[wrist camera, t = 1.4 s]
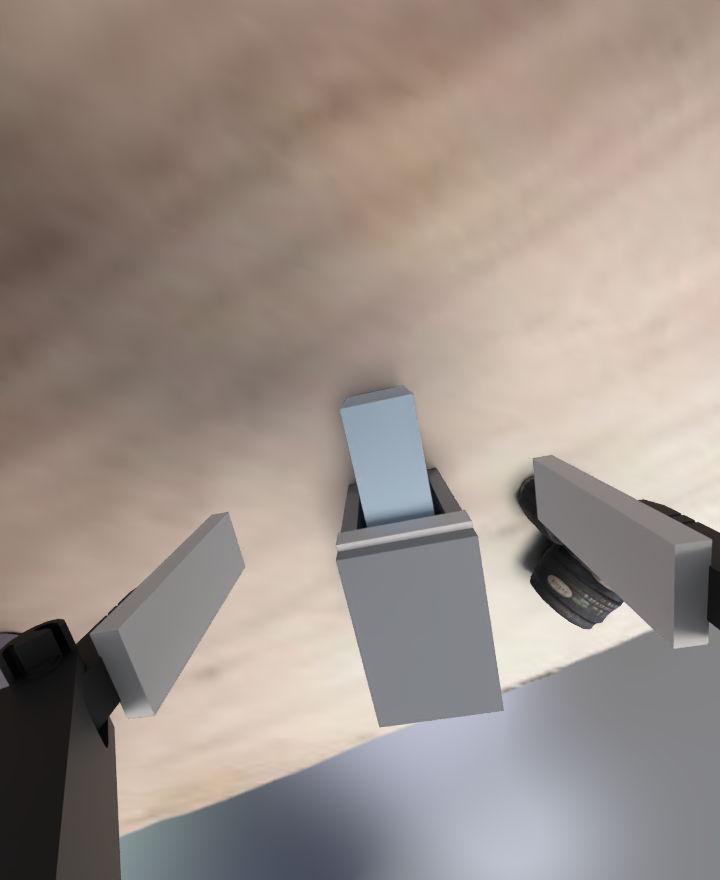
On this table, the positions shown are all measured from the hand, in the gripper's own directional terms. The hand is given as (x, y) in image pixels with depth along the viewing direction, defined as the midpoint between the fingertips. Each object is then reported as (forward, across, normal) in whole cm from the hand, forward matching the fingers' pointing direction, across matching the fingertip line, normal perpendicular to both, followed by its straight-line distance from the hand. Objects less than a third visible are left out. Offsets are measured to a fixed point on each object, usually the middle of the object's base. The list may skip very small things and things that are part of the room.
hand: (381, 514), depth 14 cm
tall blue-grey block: (+16, +1, -5) cm, 17 cm away
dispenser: (+19, +1, -12) cm, 23 cm away
